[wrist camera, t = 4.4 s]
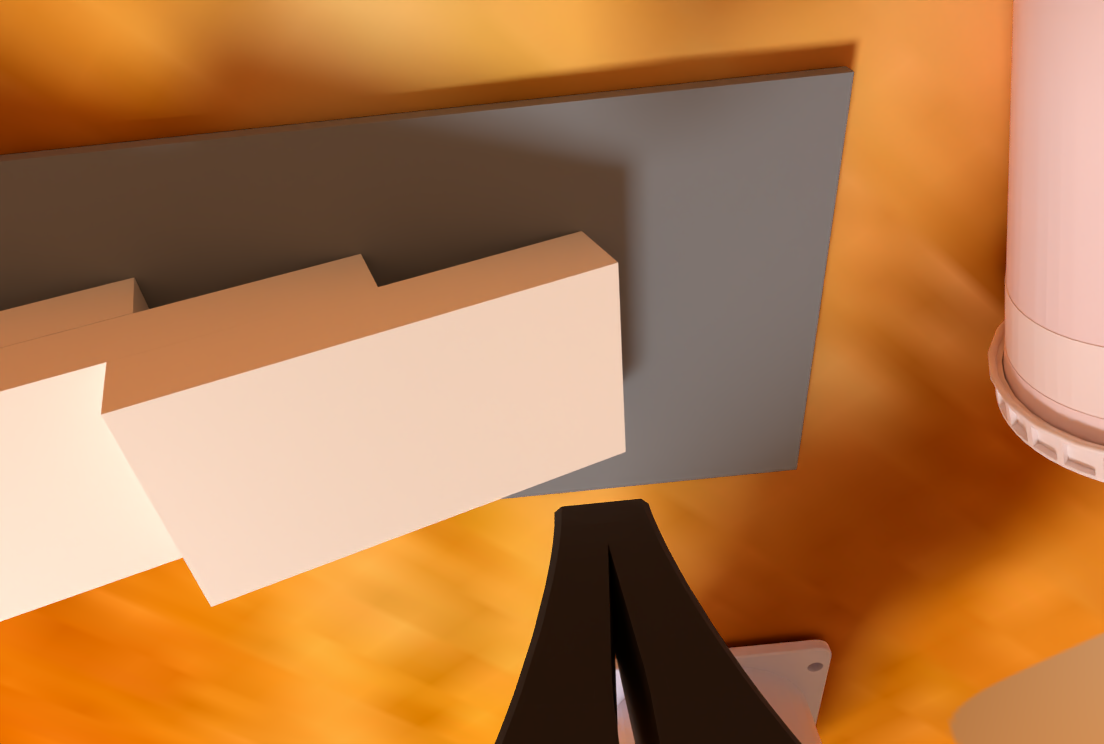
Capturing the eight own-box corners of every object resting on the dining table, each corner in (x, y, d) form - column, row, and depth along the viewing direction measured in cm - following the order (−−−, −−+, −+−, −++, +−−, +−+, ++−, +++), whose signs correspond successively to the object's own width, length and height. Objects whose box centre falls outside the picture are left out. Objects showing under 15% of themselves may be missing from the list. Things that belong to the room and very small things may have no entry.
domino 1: (377, 287, 14) (-189, 443, 12) (425, 471, 17) (-22, 628, 14) (360, 253, 15) (-155, 388, 13) (407, 431, 18) (-8, 569, 16)
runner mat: (792, 458, 20) (796, 469, 20) (-173, 555, 20) (-184, 567, 20) (845, 66, 14) (853, 71, 14) (-517, 209, 14) (-541, 218, 14)
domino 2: (618, 262, 14) (100, 414, 12) (625, 451, 17) (211, 607, 14) (581, 231, 15) (106, 362, 13) (594, 412, 18) (207, 548, 16)
